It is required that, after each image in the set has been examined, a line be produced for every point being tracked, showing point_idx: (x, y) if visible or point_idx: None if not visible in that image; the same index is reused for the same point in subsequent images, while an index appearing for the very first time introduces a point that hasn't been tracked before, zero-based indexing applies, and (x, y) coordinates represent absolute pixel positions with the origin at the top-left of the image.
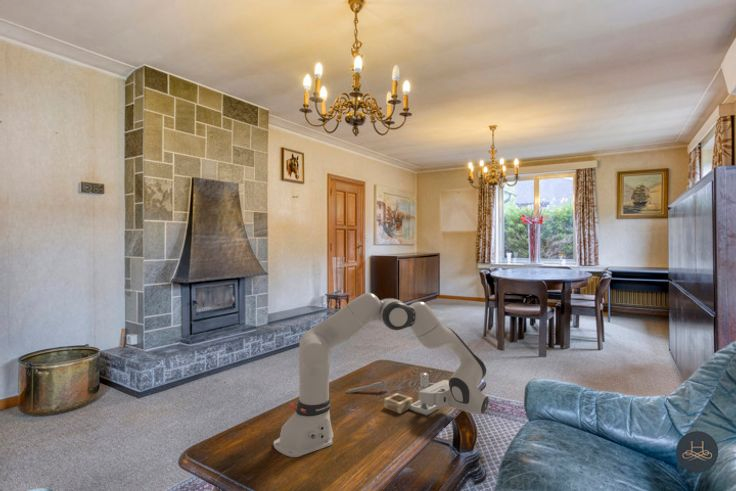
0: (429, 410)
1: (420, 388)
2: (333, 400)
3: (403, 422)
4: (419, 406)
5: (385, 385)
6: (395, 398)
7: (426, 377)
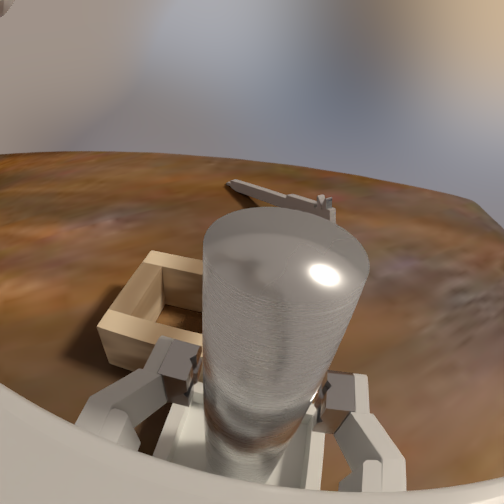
0: None
1: (149, 368)
2: (158, 181)
3: None
4: None
5: None
6: None
7: (231, 326)
